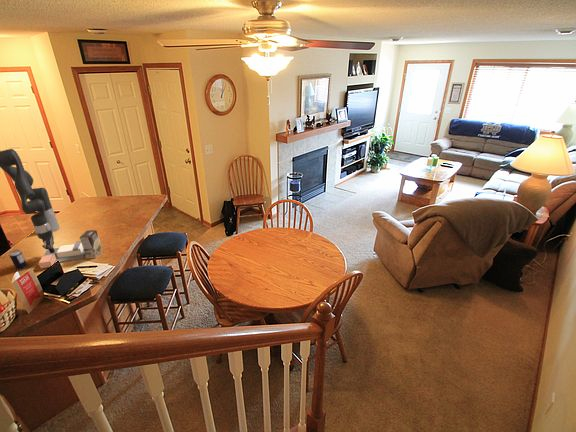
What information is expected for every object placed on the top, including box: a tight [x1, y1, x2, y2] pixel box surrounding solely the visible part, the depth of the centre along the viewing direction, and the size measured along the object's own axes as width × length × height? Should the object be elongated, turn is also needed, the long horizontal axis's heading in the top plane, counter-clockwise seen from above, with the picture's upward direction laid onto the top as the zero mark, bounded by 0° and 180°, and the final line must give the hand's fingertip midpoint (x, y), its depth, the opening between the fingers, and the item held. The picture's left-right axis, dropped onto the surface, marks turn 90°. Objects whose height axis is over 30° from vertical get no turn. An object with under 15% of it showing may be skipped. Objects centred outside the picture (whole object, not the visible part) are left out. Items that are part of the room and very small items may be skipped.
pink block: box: [38, 254, 56, 269], centre depth 187 cm, size 8×6×4 cm
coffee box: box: [79, 229, 103, 259], centre depth 196 cm, size 9×6×16 cm
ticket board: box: [38, 240, 86, 267], centre depth 197 cm, size 18×24×6 cm
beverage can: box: [8, 249, 28, 271], centre depth 183 cm, size 6×6×12 cm
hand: (52, 252), depth 196 cm, fingers closed
